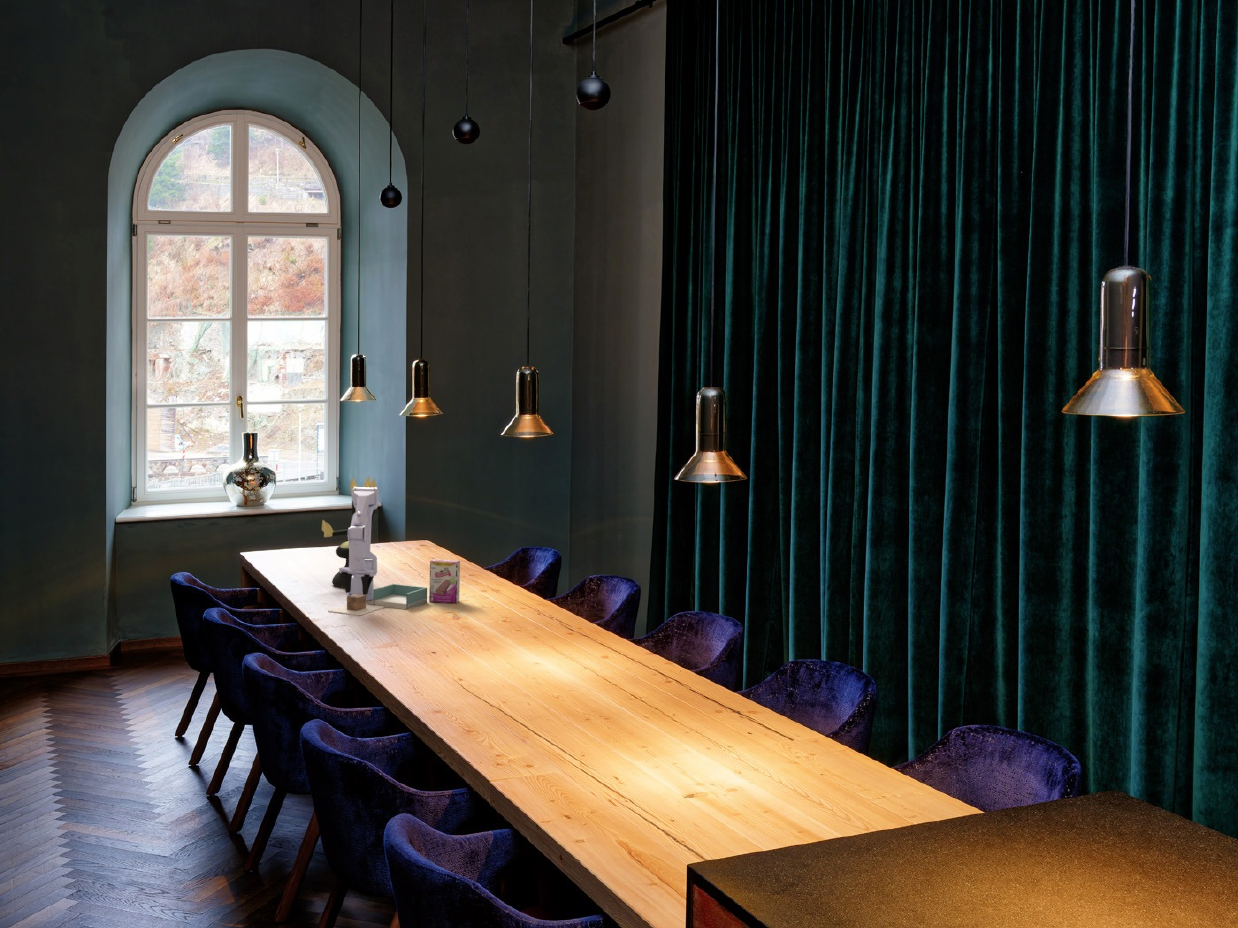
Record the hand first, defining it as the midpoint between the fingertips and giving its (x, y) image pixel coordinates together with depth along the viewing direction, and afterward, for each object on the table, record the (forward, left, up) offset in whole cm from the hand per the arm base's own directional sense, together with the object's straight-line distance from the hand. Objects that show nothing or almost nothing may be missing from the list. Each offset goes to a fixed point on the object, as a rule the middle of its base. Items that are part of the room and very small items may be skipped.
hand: (356, 593), depth 449 cm
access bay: (+9, +17, -6) cm, 20 cm away
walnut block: (0, 0, -6) cm, 6 cm away
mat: (0, 0, -6) cm, 6 cm away
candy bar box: (+21, +29, -7) cm, 36 cm away
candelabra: (-29, +41, -7) cm, 51 cm away
